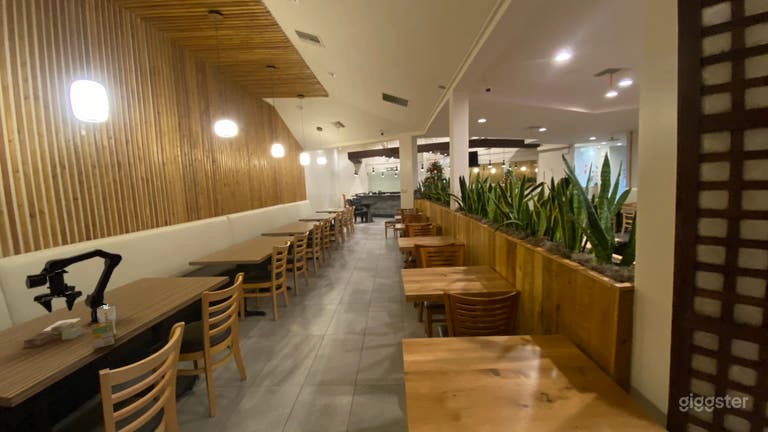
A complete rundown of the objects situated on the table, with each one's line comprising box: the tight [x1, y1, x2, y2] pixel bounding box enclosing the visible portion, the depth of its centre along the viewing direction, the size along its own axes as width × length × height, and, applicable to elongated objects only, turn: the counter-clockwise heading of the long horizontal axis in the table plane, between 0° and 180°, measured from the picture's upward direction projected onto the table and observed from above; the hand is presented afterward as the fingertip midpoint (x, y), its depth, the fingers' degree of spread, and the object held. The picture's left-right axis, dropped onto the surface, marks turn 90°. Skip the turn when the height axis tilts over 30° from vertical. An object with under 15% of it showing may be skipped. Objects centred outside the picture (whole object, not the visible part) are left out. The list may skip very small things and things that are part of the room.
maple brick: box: [50, 322, 75, 335], centre depth 163 cm, size 6×6×4 cm
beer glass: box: [97, 304, 118, 336], centre depth 156 cm, size 7×7×15 cm
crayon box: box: [91, 321, 116, 350], centre depth 145 cm, size 7×3×12 cm, turn 129°
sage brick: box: [61, 326, 83, 341], centre depth 155 cm, size 5×5×4 cm
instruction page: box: [41, 317, 82, 333], centre depth 171 cm, size 10×14×1 cm
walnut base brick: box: [23, 331, 56, 348], centre depth 150 cm, size 7×7×4 cm
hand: (60, 311), depth 162 cm, fingers open, 9 cm apart
